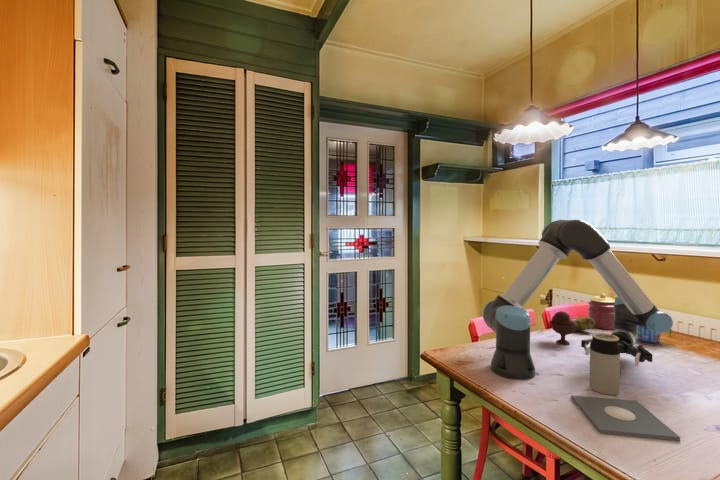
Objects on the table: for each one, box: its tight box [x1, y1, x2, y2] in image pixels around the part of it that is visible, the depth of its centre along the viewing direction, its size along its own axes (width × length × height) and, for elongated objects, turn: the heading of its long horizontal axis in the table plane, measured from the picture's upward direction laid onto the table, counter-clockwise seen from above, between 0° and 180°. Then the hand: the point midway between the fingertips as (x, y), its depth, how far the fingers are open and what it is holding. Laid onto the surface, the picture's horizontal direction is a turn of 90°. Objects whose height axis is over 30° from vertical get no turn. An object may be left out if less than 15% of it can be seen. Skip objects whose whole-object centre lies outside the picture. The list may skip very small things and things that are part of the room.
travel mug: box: [589, 332, 621, 396], centre depth 110 cm, size 8×8×18 cm
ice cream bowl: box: [549, 310, 577, 346], centre depth 153 cm, size 11×11×15 cm
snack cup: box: [638, 325, 673, 344], centre depth 155 cm, size 16×10×10 cm
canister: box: [587, 292, 615, 330], centre depth 178 cm, size 13×13×18 cm
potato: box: [571, 316, 595, 332], centre depth 170 cm, size 8×13×8 cm, turn 42°
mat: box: [570, 394, 681, 442], centre depth 94 cm, size 18×18×1 cm
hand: (610, 356), depth 113 cm, fingers open, 13 cm apart
